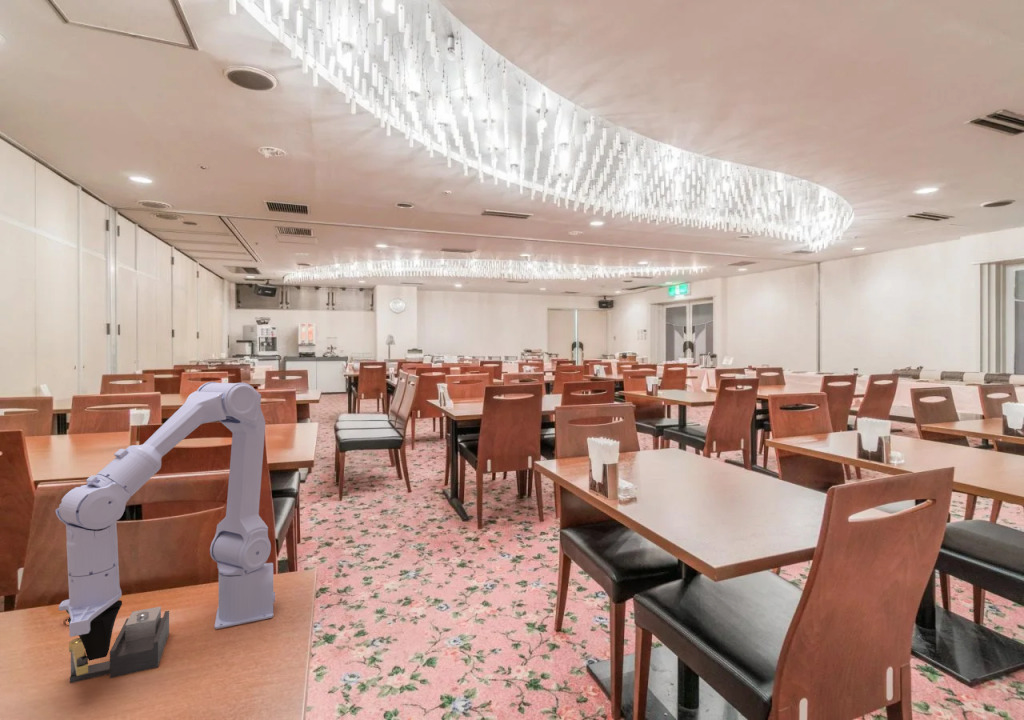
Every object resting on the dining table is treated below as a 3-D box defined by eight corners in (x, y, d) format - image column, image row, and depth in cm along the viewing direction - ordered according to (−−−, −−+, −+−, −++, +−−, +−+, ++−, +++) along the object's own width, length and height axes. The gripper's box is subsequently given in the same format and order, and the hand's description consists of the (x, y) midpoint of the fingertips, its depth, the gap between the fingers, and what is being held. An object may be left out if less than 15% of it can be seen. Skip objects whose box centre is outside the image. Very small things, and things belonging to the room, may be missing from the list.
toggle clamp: (169, 633, 88) (169, 610, 88) (157, 667, 78) (157, 641, 78) (87, 649, 83) (88, 625, 83) (65, 688, 73) (65, 660, 73)
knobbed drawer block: (160, 621, 86) (160, 602, 86) (155, 635, 82) (155, 615, 82) (132, 627, 85) (132, 608, 85) (125, 641, 80) (125, 621, 80)
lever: (91, 671, 70) (91, 657, 70) (73, 677, 69) (74, 662, 69) (84, 644, 77) (84, 631, 77) (68, 648, 76) (68, 635, 76)
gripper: (76, 554, 79) (80, 639, 79) (37, 596, 66) (42, 697, 66) (131, 545, 82) (135, 627, 82) (105, 584, 69) (109, 681, 69)
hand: (98, 658), depth 74 cm, fingers closed, pressing on lever
